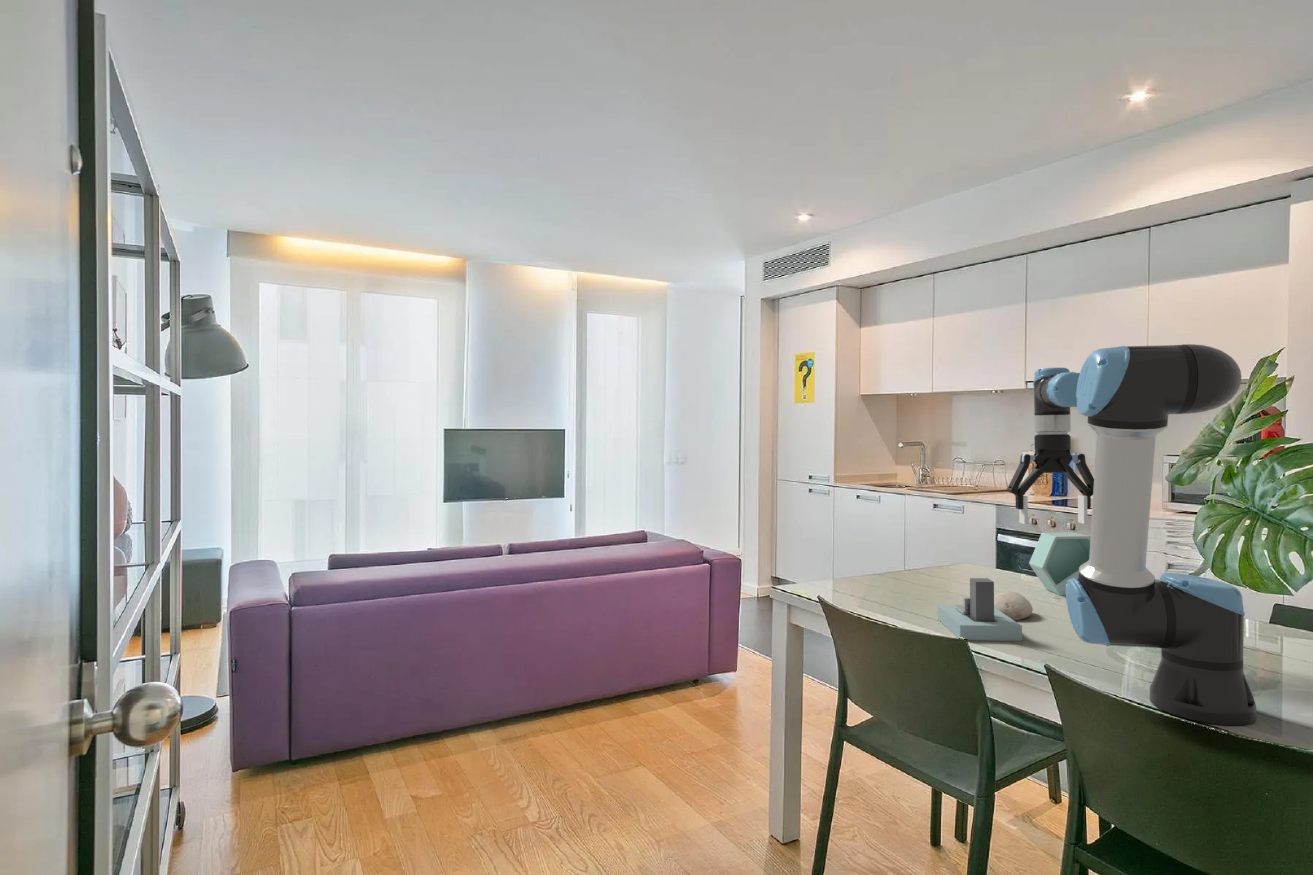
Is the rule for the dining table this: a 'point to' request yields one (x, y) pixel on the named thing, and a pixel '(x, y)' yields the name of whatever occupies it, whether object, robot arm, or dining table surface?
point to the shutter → (964, 606)
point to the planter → (1059, 559)
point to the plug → (981, 600)
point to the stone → (1013, 605)
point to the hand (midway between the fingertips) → (1053, 523)
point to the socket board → (980, 625)
